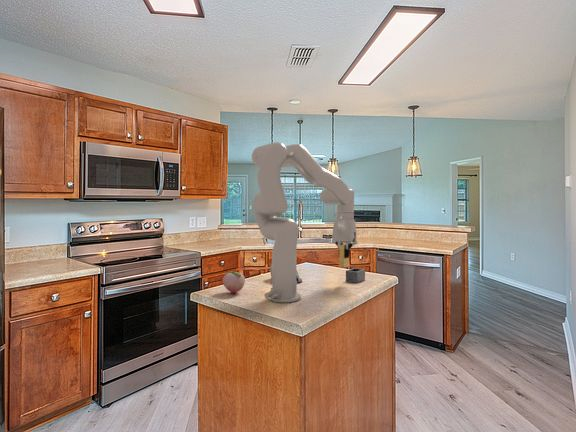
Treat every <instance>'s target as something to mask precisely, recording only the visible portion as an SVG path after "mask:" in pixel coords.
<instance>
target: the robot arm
mask: <svg viewBox="0 0 576 432" xmlns="http://www.w3.org/2000/svg"><path fill="white" fill-rule="evenodd" d="M251 160H252V162H253V164H254V165H255V166H256V167H258V170H257V175H256V176H257V185H258V188H259V192H258V193H256V194H255V196H254V197H253V199H252V204H251V205H252V211H253V213H254V214H253V215H254V217H255V219H256V223H257V226H258V229H259V231H260V234H261V235H262V237H263V238H265V239H266V240H270V241H274V244H273V247H272V251H271V265H272V278H271V280H272V281H271V282H272V283H271V285H272V287H270V291H267V292H264V293H263V294H264V298H265V299H269V300H270V301H271V302H275V303H294V302H297V301H299V300H301V294H300V293H299V292H297V290H298V289H297V286H298V285H297V284H298V282H297V272H298V270H297V248H298V247H297V245H298V241H299V240H298V238H299V234H300V228H299V225H298V223H297V221H295V220H294V219H292V218H290V217H285V216H284V217H283V216H282V215H285V214H286V213H287V211H288V200H287V198H286V194H285V191H284V187H283V185H282V181H281V180H282V179H281V170H282V168H288V167H292V168H293V169H295V170H296V172H297V173H298V174H299V175H300V176H301V177H302V178H303V179H304V180H305V181H306V182H307V183H309V184H310V185H314V186H316V187H321V188H323V190H322V191H321V192H320V194H319V198H320V201H321V202H322V203H323V204H324V205H329V206H336V213H334V217H336V218H335V219H334V222H333V227H332V240H331V242H332V243H333V244H334V245H336V247H337V249H339V245H340V244H344V243H345V244H346V249H345V258H349V259H350V254H351V252H350V251H351V248H352V247H354V246H356V245H358V240H357V224H356V220H355V219H354V218H355V217H354V215H355V190H354V189H352V188H349V187H348V185H347V183H345V182H344V180H343V179H342V178H341V177H339V176H337V175H336V174H334V173H333V172H331V171H329V170H327V169H326V168H324V167H323V166H321V165H320V163H319V162H318V161H317V160H316V159H315V157H314V156H313V155H312V154H311V153H310V152H309V150H308V149H307V148H306V147H305V146H304V145H303V144H299V143H294V144H289V145H285V144H284V143H281V142H271V143H267V144H262V145H259V146H256V147H255V148H254V149H253V151H252V153H251Z"/></svg>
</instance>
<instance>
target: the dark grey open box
mask: <svg viewBox="0 0 576 432" xmlns="http://www.w3.org/2000/svg"><path fill="white" fill-rule="evenodd" d="M363 281H366V269H363V268H357V267H352V268H350V269H346V270H345V282H350V283H354V284H358V283H361V282H363Z"/></svg>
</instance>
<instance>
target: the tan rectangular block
mask: <svg viewBox="0 0 576 432" xmlns="http://www.w3.org/2000/svg"><path fill="white" fill-rule="evenodd" d="M345 249H346V243H343V244H340V245H339V248H338V257H339V258H338V260H339V261H338V267H339V268H347V267H350V257H349V258H345Z"/></svg>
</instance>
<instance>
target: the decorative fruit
mask: <svg viewBox="0 0 576 432" xmlns="http://www.w3.org/2000/svg"><path fill="white" fill-rule="evenodd" d="M245 283H246V278H245V275H243V273H242V272H239V271H235V269H234V268H233V270H230V271H227V272H225V275H224V276H223V278H222V284H223V286H224V288H225V289H226V290H227V291H228V292H230V293H233V294H237V293H238V292H240V291H241V290H243V288H244V286H245Z"/></svg>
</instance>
